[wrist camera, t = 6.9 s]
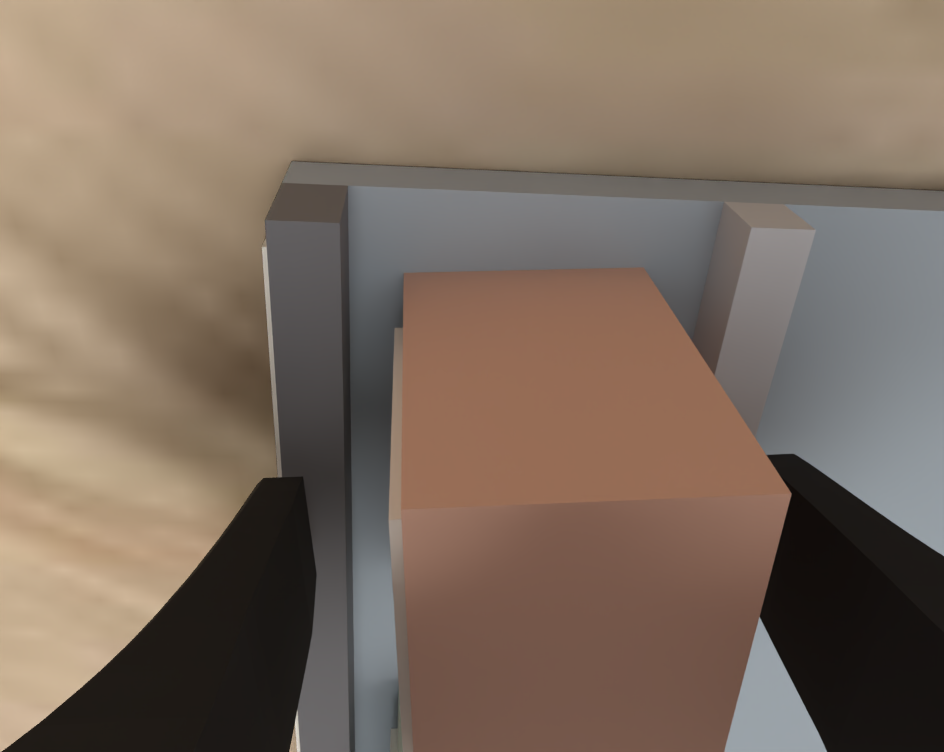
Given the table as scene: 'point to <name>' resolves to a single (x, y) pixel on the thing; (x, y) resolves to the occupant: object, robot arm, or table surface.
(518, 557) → the terracotta carton
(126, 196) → the table surface
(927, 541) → the shelf board
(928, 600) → the robot arm
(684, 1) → the table surface
